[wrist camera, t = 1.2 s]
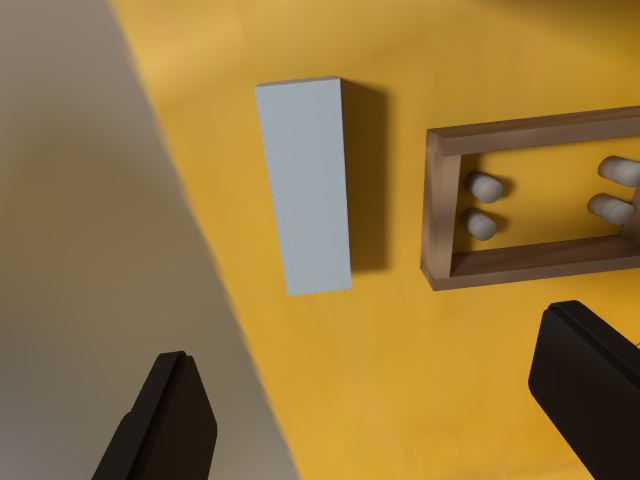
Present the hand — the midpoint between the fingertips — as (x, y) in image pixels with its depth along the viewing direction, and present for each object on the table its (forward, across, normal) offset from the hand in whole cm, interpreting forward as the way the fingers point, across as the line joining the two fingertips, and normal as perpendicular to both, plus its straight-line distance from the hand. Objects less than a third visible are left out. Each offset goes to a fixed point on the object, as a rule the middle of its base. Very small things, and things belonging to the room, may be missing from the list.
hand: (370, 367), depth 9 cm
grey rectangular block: (+20, +1, 0) cm, 20 cm away
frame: (+20, -18, +4) cm, 27 cm away
